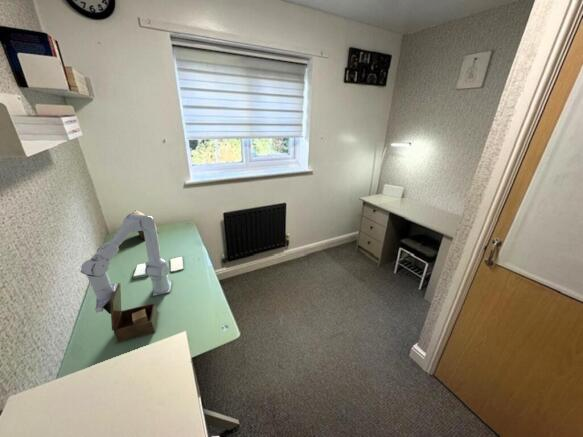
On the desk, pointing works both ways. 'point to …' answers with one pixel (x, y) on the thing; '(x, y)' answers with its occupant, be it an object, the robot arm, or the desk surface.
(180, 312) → the desk surface
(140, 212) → the owl
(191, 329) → the desk surface
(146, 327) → the keepsake box
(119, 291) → the box lid
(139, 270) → the hard drive
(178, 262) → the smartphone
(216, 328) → the desk surface
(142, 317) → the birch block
